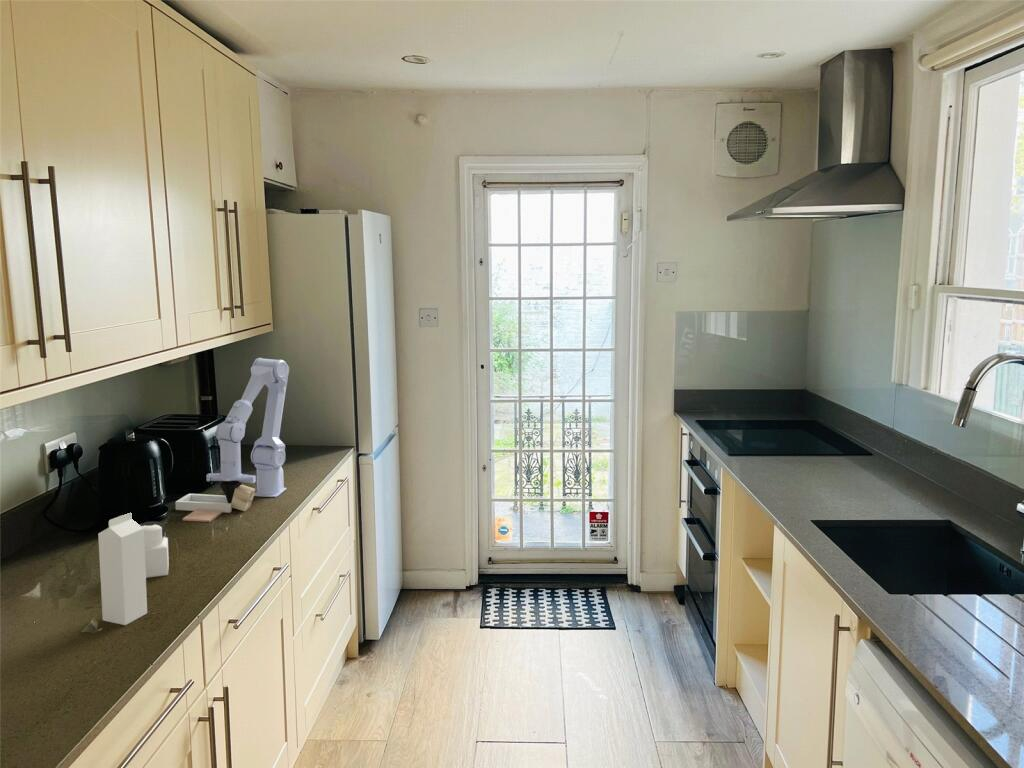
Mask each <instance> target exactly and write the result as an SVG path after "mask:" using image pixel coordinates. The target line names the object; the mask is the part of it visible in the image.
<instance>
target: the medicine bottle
mask: <svg viewBox="0 0 1024 768" xmlns="http://www.w3.org/2000/svg"><path fill="white" fill-rule="evenodd" d="M139 525H140V526H141V527H143V528H144V548H145V571H146V579H149V578H154V577H164V576H168V575H169V567H170V566H169V565H170V563H169V562H170V561H169V560H170V558H169V538H168V537H166V534H165V524H164V523H163V522H160V521H153V520H152V521H146V522H144V523H141V524H139Z"/></svg>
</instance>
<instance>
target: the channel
mask: <svg viewBox="0 0 1024 768" xmlns="http://www.w3.org/2000/svg"><path fill="white" fill-rule="evenodd" d="M175 510H176V511H189V512H190V511H192V512H193V511H195V510H209V511H222V513H231V512H232V507H231V503H228V502H227V499H226V496H225V494H224V495H220V494H204V493H203V494H202V493H188V494H186V495H184V496H182V497H181V498H179V499H178V500H176V501H175Z"/></svg>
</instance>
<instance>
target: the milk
mask: <svg viewBox="0 0 1024 768" xmlns="http://www.w3.org/2000/svg"><path fill="white" fill-rule="evenodd" d="M97 535H98V552H99V553H98V555H99V573H100V574H99V576H100V592H101V593H100V594H101V609H102V610H101V612H102V613H101V614H102V621H105V622H108V623H112V624H117V625H123V626H127V625H128V624H131V623H132V622H134V621H135V620H138V619H139V618H142V617H144V616H145V615H147V614H148V599H147V598H148V597H147V578H146V571H145V548H144V528H143V527H141V526H140V524H138V523H137V522H136V521H134V520H133V519H132V513H131V512H130V513H127V514H124V515H123V514H122V515H119V516H117V517H114V518H111V519H109V521H108V527H107V528H106V529H104V530H102V531H101V532H100V531H99V533H98V534H97Z"/></svg>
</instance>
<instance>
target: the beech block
mask: <svg viewBox="0 0 1024 768" xmlns="http://www.w3.org/2000/svg"><path fill="white" fill-rule="evenodd" d="M255 492H256V488H254V487H250V486H247V485H246V484H245V485H244V484H243V483H242V484H241V485H240V486H238V487H237V488H235V491H234V495H233V499H232V502H231V508H232V509H236V510H239V511H242V512H245V511H247V510H248V509H250V508H251V506H252V502H253V499H254V497H255V496H254V493H255Z"/></svg>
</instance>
